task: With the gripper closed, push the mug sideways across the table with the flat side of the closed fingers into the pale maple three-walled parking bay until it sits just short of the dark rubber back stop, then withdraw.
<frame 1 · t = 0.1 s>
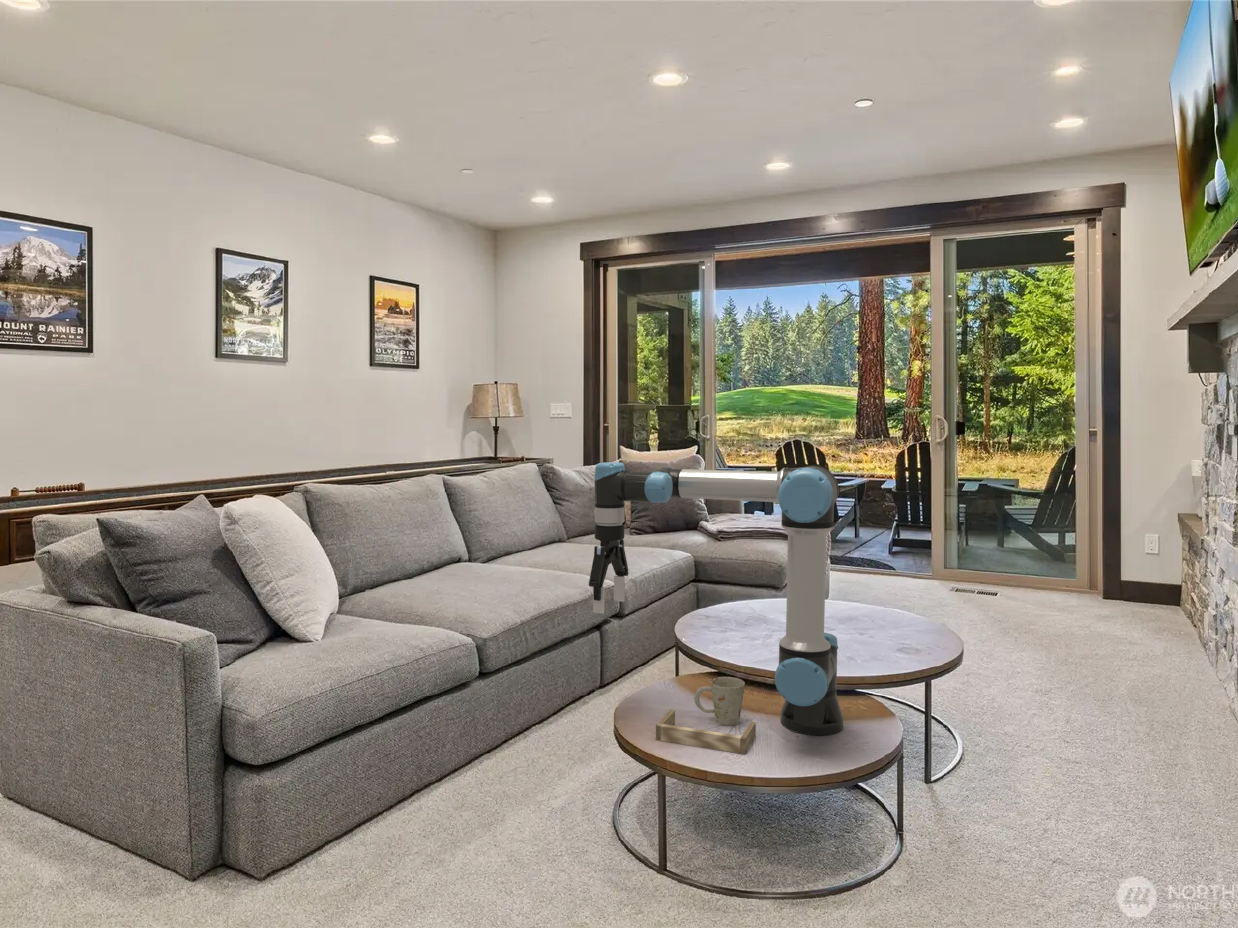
hand: (609, 606, 206), 28 cm above the table, fingers open, 13 cm apart
bay: (706, 737, 193), on the table
mug: (718, 721, 204), on the table
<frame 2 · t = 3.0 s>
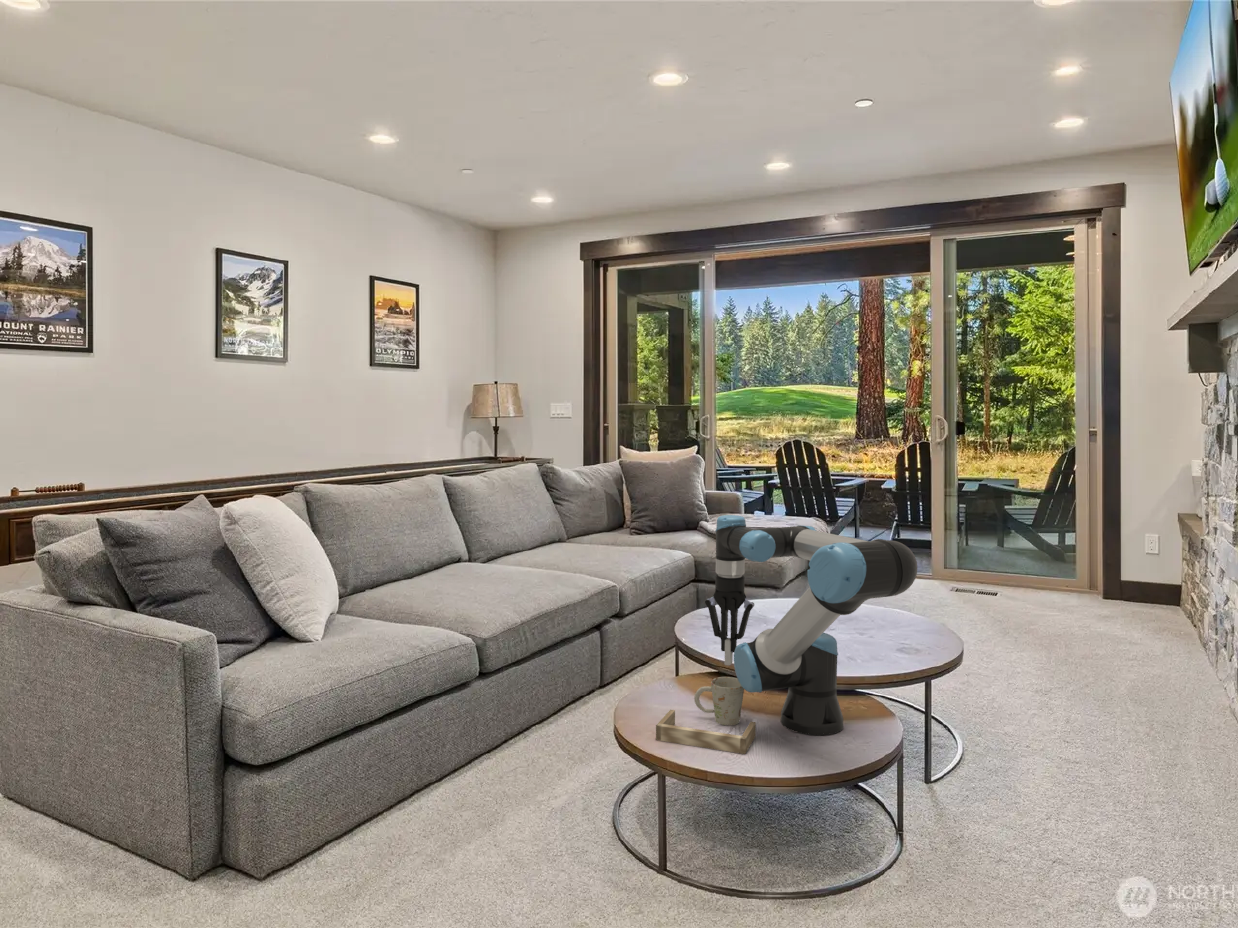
hand: (728, 663, 213), 12 cm above the table, fingers closed
nothing on the table moved.
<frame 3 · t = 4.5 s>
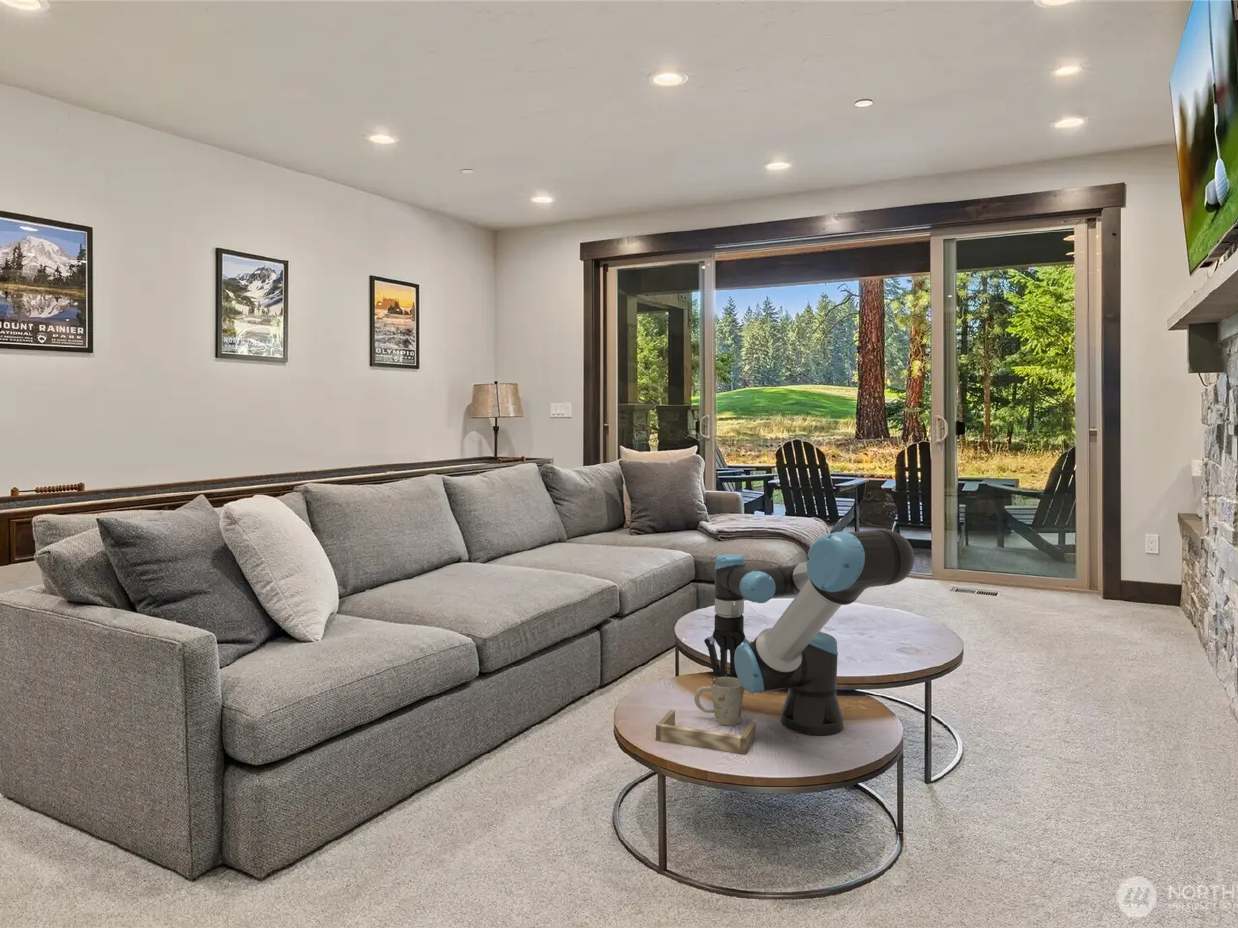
hand: (728, 702, 212), 1 cm above the table, fingers closed
nothing on the table moved.
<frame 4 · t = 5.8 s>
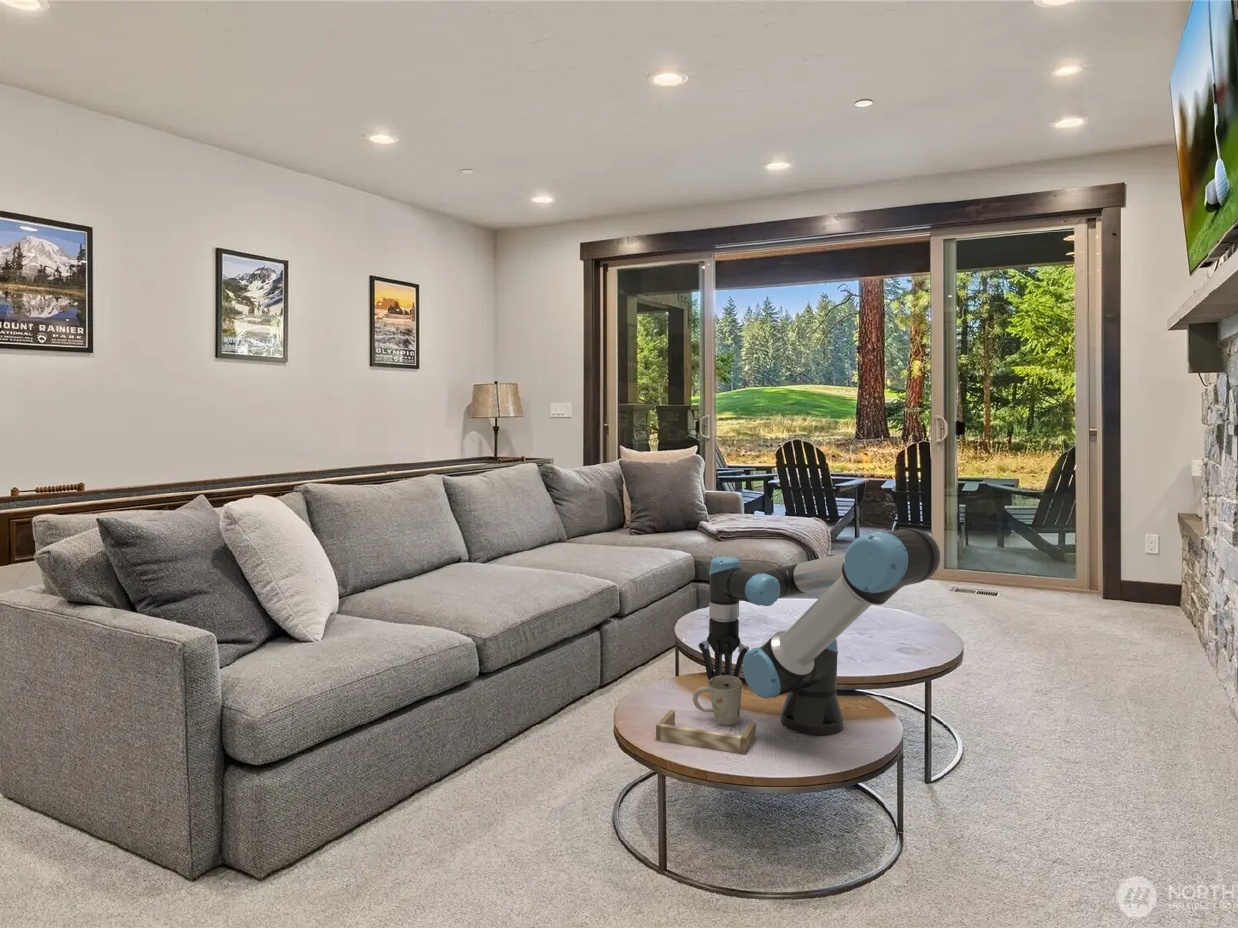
hand: (722, 708, 208), 2 cm above the table, fingers closed
mug: (718, 719, 204), on the table, touching gripper, hand
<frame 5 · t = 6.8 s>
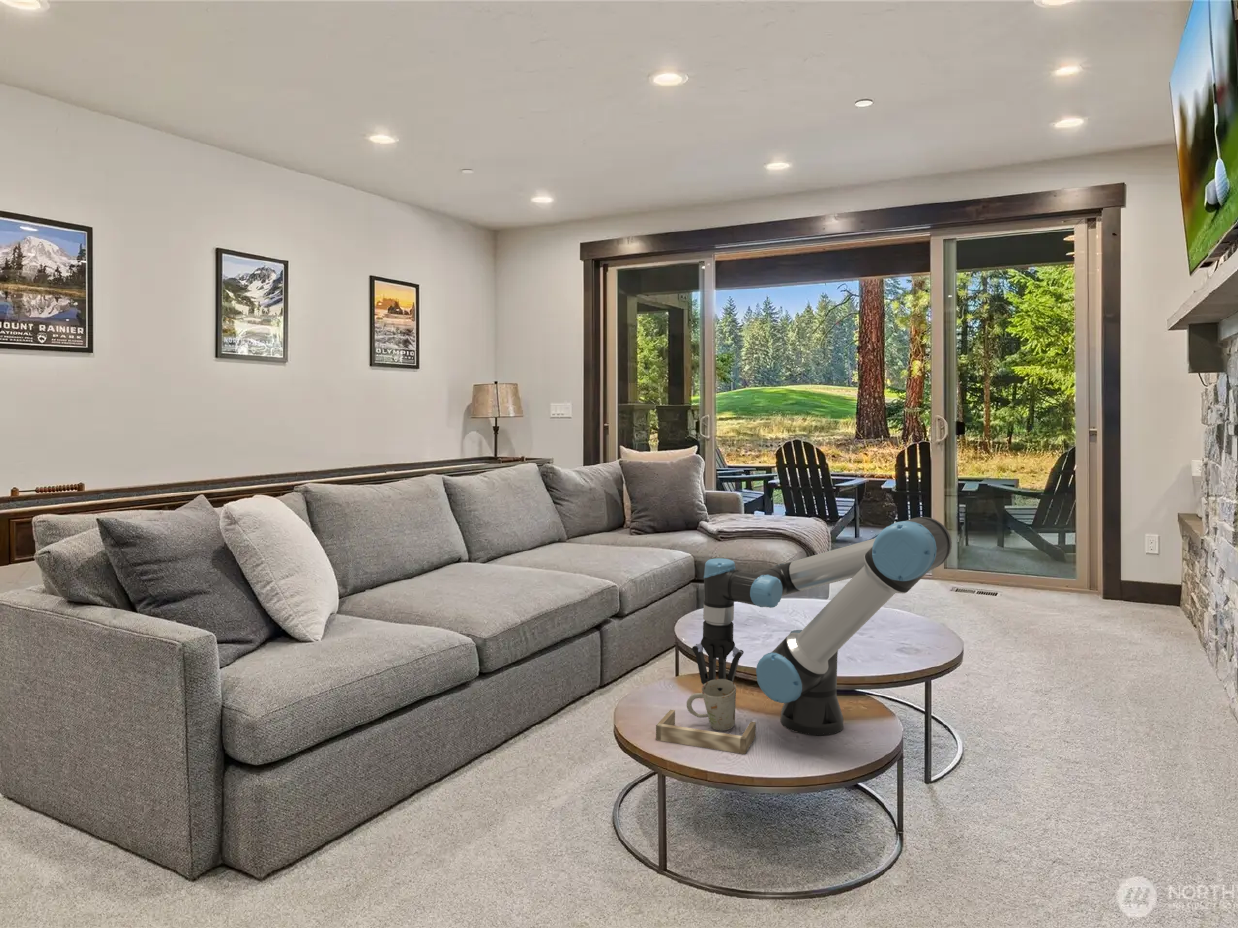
hand: (716, 712, 204), 2 cm above the table, fingers closed
mug: (714, 724, 200), on the table, touching gripper, hand
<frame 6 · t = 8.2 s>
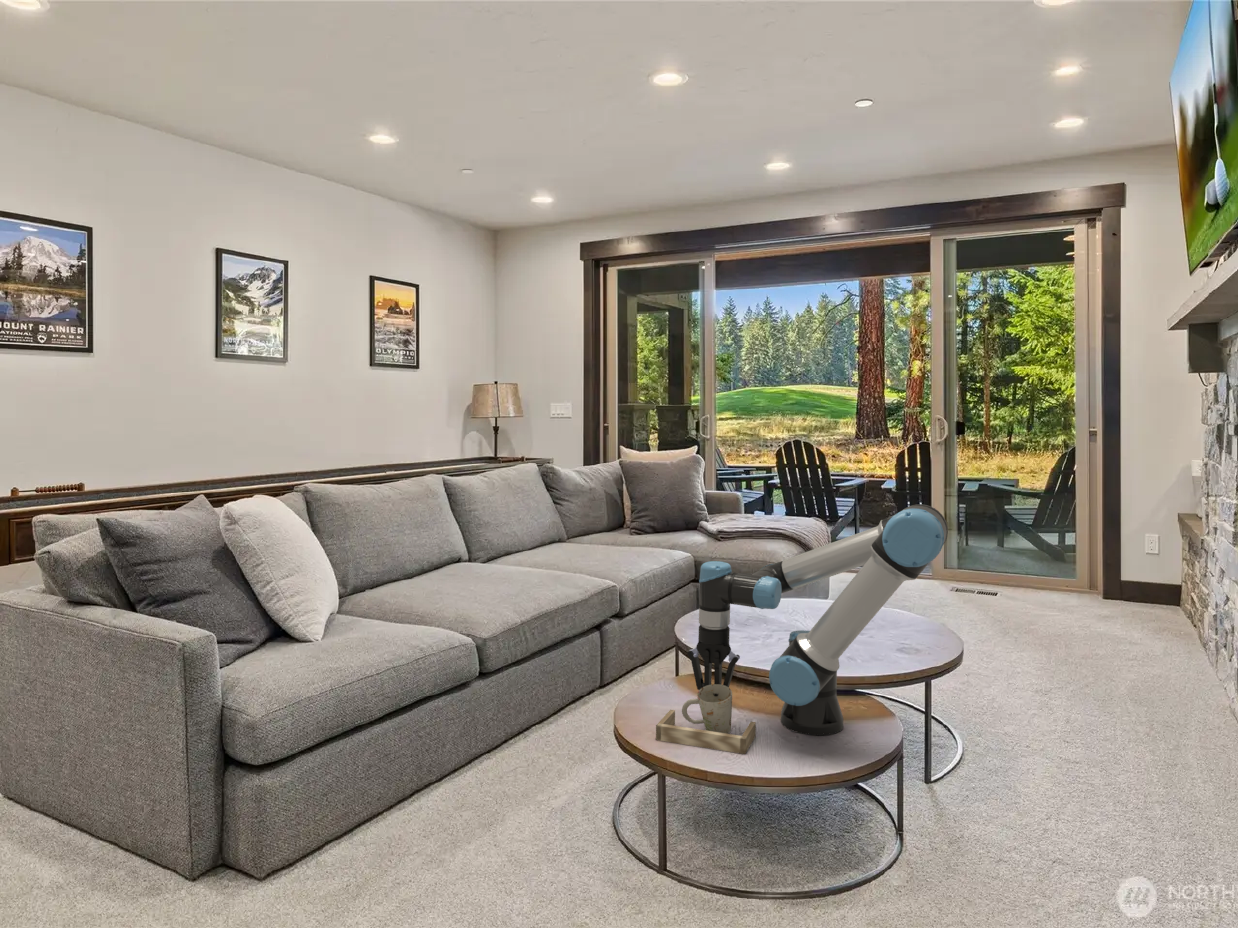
hand: (712, 718, 200), 2 cm above the table, fingers closed
mug: (709, 730, 196), on the table, touching gripper, hand
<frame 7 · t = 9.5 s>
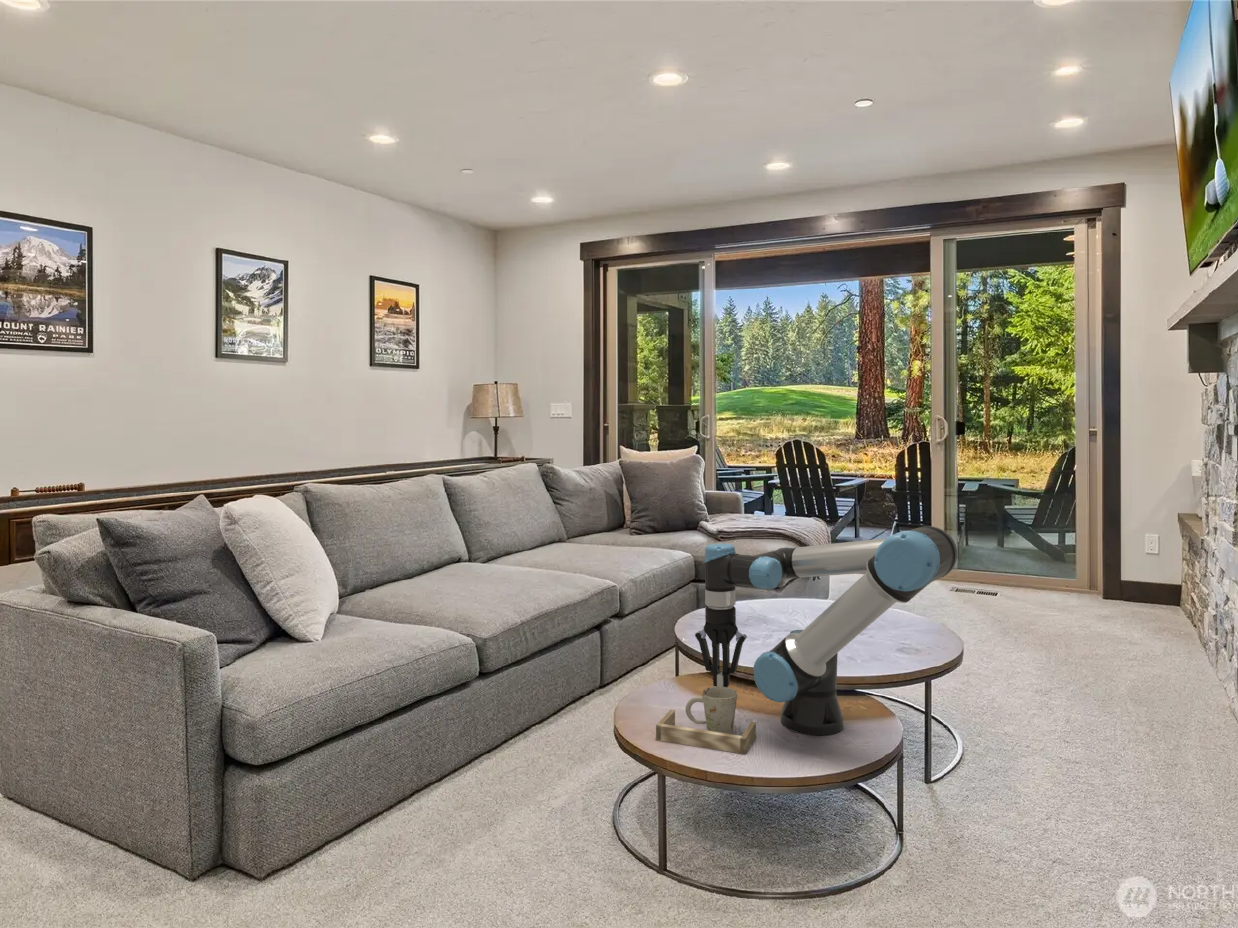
hand: (721, 699, 203), 6 cm above the table, fingers closed
mug: (711, 732, 196), on the table
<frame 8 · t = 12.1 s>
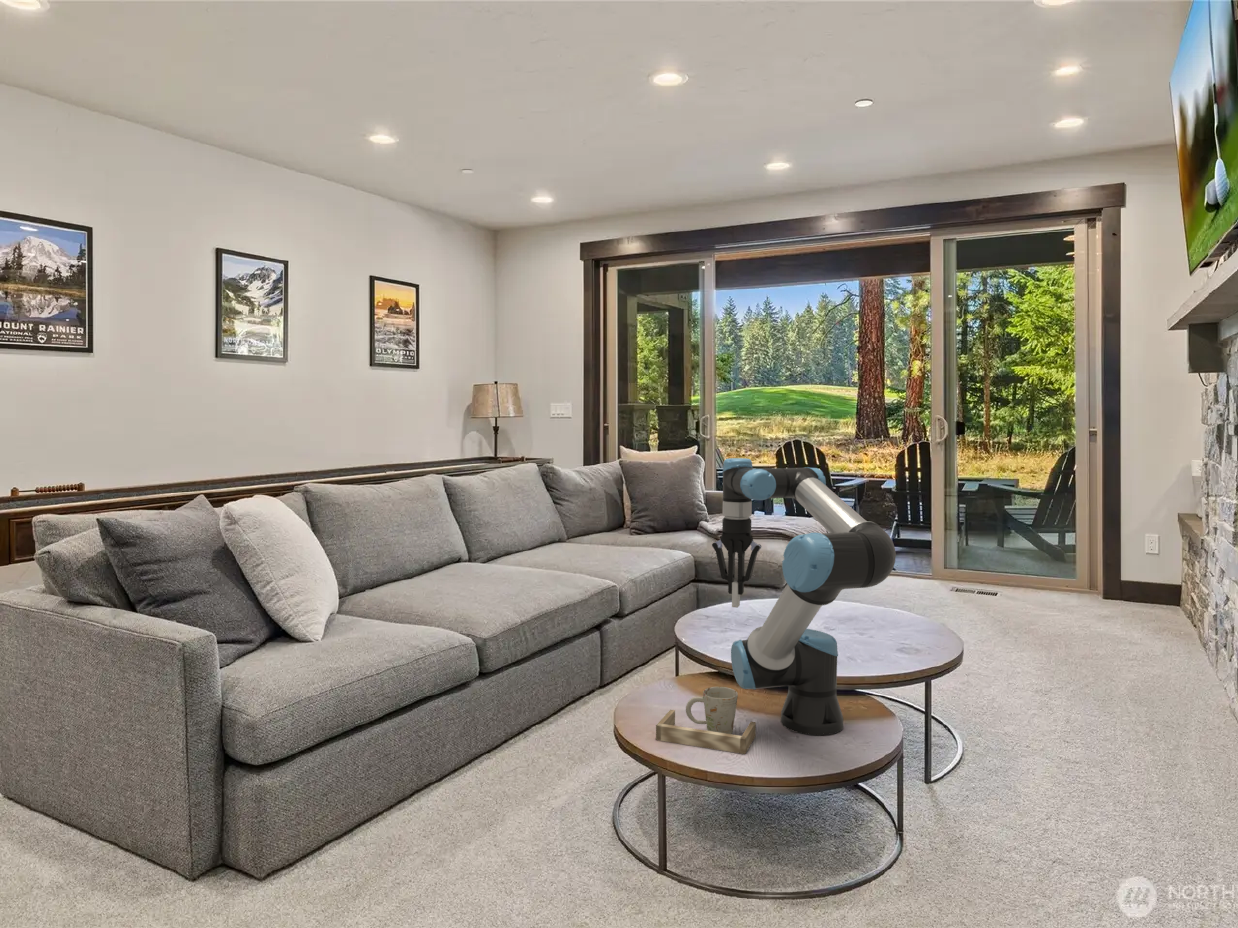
hand: (735, 606, 213), 26 cm above the table, fingers closed
nothing on the table moved.
at the end: mug inside the target area on the bay (3.2 cm from its centre), point 0.0 cm above the bay's base; mug tilted 0°; mug moved 8.1 cm from its start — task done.
